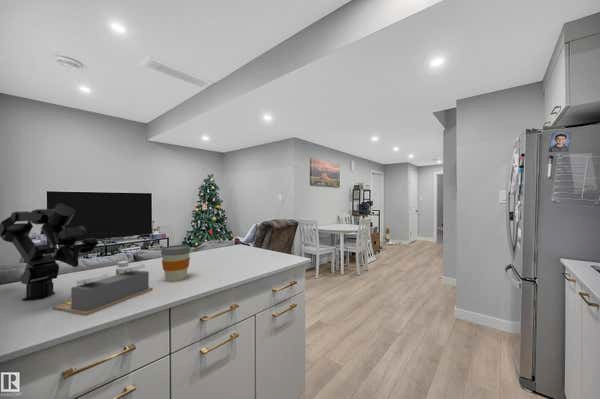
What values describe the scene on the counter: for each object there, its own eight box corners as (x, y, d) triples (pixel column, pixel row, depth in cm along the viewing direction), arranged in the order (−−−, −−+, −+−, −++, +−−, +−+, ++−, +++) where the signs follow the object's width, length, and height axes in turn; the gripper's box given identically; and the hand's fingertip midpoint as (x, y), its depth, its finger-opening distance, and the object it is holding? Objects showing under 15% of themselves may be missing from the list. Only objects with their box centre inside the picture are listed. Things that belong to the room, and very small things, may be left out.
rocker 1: (77, 285, 82) (76, 280, 82) (93, 281, 87) (92, 276, 87) (92, 283, 79) (92, 277, 80) (108, 278, 84) (108, 273, 84)
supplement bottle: (130, 280, 113) (130, 259, 113) (130, 283, 108) (130, 262, 109) (116, 282, 110) (116, 261, 110) (115, 285, 105) (115, 263, 106)
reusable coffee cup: (188, 280, 111) (188, 248, 111) (157, 283, 107) (157, 250, 107) (192, 273, 123) (192, 244, 123) (165, 275, 119) (164, 245, 119)
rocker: (118, 274, 95) (118, 270, 95) (131, 270, 100) (130, 266, 100) (133, 271, 93) (132, 267, 93) (145, 268, 98) (144, 264, 98)
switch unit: (52, 309, 82) (52, 286, 82) (122, 286, 105) (122, 268, 105) (86, 315, 77) (86, 291, 77) (152, 289, 99) (152, 271, 100)
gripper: (32, 221, 79) (53, 256, 76) (95, 218, 97) (114, 246, 93) (18, 244, 81) (38, 279, 78) (82, 237, 99) (100, 265, 96)
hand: (76, 266), depth 86 cm, fingers closed
